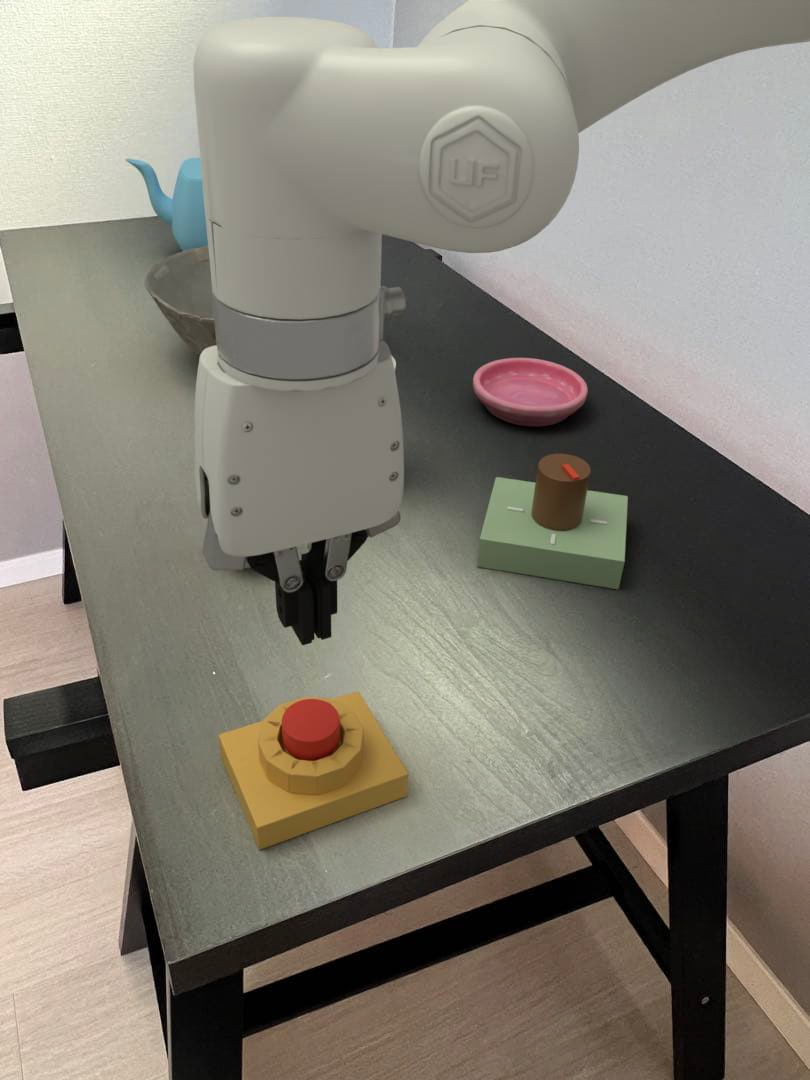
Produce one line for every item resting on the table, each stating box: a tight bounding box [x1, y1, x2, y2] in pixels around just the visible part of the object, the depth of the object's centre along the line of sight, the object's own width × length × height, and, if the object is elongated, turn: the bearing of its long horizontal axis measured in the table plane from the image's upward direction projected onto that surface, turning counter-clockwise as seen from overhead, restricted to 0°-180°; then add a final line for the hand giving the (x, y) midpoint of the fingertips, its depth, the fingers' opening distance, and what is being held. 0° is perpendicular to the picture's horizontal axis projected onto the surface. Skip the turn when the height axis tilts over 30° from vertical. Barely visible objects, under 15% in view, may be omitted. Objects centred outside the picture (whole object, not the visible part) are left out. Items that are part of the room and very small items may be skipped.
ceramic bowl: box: [144, 246, 216, 356], centre depth 109 cm, size 22×23×10 cm
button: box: [282, 699, 340, 760], centre depth 59 cm, size 4×4×2 cm
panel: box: [476, 476, 629, 590], centre depth 83 cm, size 12×10×3 cm
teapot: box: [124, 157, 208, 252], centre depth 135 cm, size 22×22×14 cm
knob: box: [531, 453, 592, 530], centre depth 80 cm, size 4×4×5 cm
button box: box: [217, 690, 409, 851], centre depth 61 cm, size 10×8×4 cm
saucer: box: [472, 357, 589, 427], centre depth 103 cm, size 12×12×3 cm
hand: (307, 626), depth 54 cm, fingers closed
